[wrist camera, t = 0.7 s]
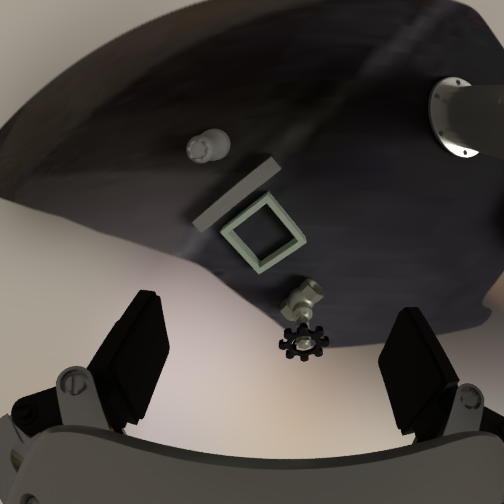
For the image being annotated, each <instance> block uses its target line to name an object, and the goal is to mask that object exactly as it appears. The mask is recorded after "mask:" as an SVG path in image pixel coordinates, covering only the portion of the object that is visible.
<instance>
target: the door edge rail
mask: <svg viewBox="0 0 504 504" xmlns="http://www.w3.org/2000/svg"><path fill="white" fill-rule="evenodd" d="M281 169H282V165H281V164H280V163H279V161H278V160H277V159H276V158H275V157H274V155H273V154H271V155H270V156H269V157H268V158H266V159H265V160H264V161H263V162H261V163H260V164H259V165H258V166H256V167H255V168H254V169H253V170H251V171H250V172H249V173H248V174H246V175H245V176H244V177H243V178H241V179H240V180H239V181H238V182H237V183H235V184H234V185H233V186H232V187H231V188H229V189H228V190H227V191H226V192H225V193H223V194H222V195H221V196H220V197H219V198H217V199H216V200H215V201H214V202H213V203H212V204H210V205H209V206H208V207H207V208H206V209H205V210H204V211H202V212H201V213H200V214H199V215H198V216H197V217H196V218H195V220H194V221H193V222H192V223H193V224H194V226H195V227H196V228H197V229H198V230H199V231H200V232H201V233H202V232H204V231H205V230H206V229H207V228H208V227H210V226H211V225H212V224H213V223H214V222H216V221H217V220H218V219H219V218H220V217H222V216H223V215H224V214H225V213H226V212H228V211H229V210H230V209H231V208H233V207H234V206H235V205H236V204H238V203H239V202H240V201H241V200H243V199H244V198H245V197H246V196H248V195H249V194H250V193H251V192H253V191H254V190H255V189H256V188H258V187H259V186H260V185H262V184H263V183H264V182H265V181H267V180H268V179H269V178H271V177H272V176H273V175H274V174H276V173H277V172H278V171H280V170H281Z"/></svg>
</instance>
